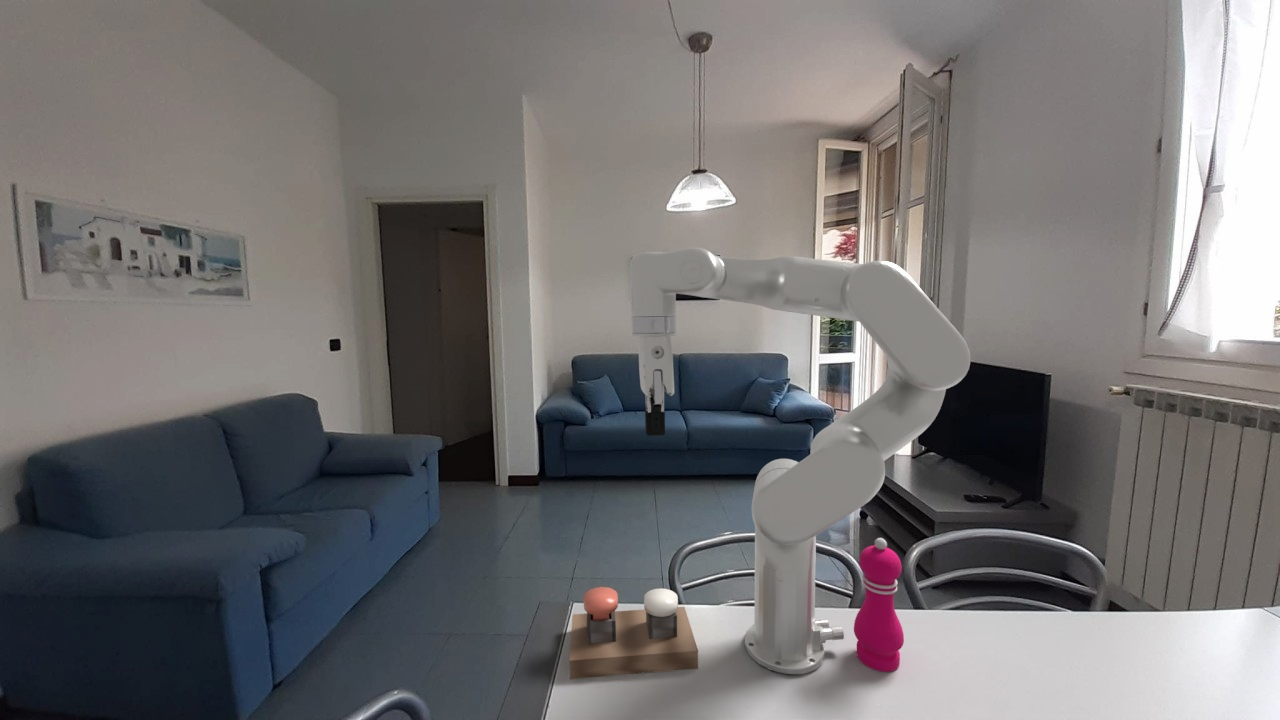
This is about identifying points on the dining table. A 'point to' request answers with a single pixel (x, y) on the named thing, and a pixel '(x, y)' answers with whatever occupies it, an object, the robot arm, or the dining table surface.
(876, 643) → the pepper mill
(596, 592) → the red button
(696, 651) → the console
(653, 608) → the cream button
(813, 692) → the dining table surface
